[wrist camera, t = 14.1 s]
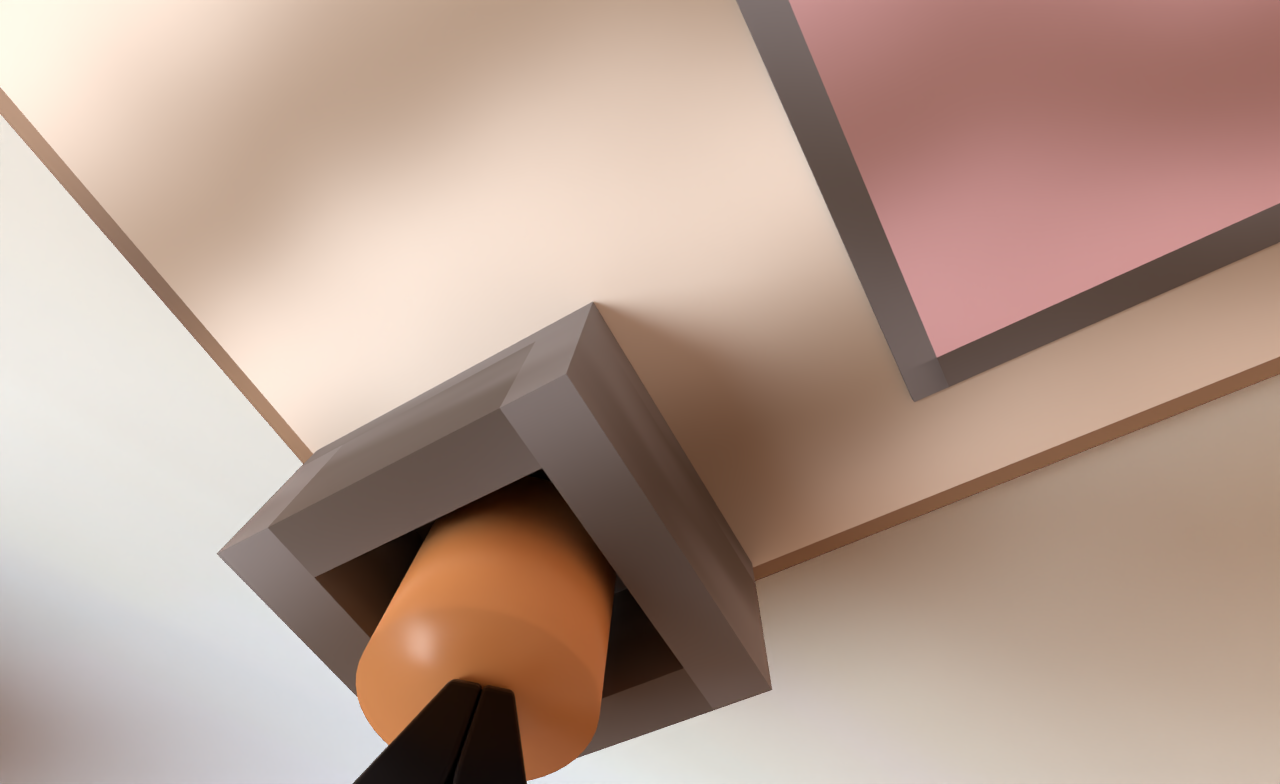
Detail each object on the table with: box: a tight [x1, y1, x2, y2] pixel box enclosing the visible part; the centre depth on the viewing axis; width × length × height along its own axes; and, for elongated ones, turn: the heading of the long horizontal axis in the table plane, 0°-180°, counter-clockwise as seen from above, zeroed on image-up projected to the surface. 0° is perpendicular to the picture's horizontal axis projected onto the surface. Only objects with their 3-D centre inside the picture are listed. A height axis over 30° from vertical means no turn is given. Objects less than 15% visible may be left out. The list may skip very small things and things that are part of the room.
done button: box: [356, 476, 617, 781], centre depth 10 cm, size 3×3×3 cm
